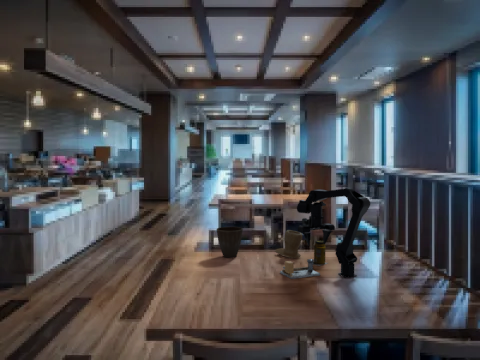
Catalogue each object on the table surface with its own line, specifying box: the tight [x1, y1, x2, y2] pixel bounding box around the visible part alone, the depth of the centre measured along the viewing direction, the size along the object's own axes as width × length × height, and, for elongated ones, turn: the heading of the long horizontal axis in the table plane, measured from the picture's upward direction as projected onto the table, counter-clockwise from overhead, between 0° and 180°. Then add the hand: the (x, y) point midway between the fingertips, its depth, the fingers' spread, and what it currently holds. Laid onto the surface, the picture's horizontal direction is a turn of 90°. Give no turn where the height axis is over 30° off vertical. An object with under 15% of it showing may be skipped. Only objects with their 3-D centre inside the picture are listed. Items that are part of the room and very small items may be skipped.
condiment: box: [313, 240, 329, 267], centre depth 231 cm, size 7×8×12 cm
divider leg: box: [282, 260, 295, 274], centre depth 209 cm, size 6×2×5 cm, turn 23°
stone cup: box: [274, 229, 303, 259], centre depth 247 cm, size 15×12×15 cm
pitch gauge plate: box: [279, 258, 321, 280], centre depth 210 cm, size 11×16×6 cm
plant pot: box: [216, 226, 243, 259], centre depth 246 cm, size 15×15×16 cm
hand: (316, 244), depth 220 cm, fingers open, 9 cm apart
